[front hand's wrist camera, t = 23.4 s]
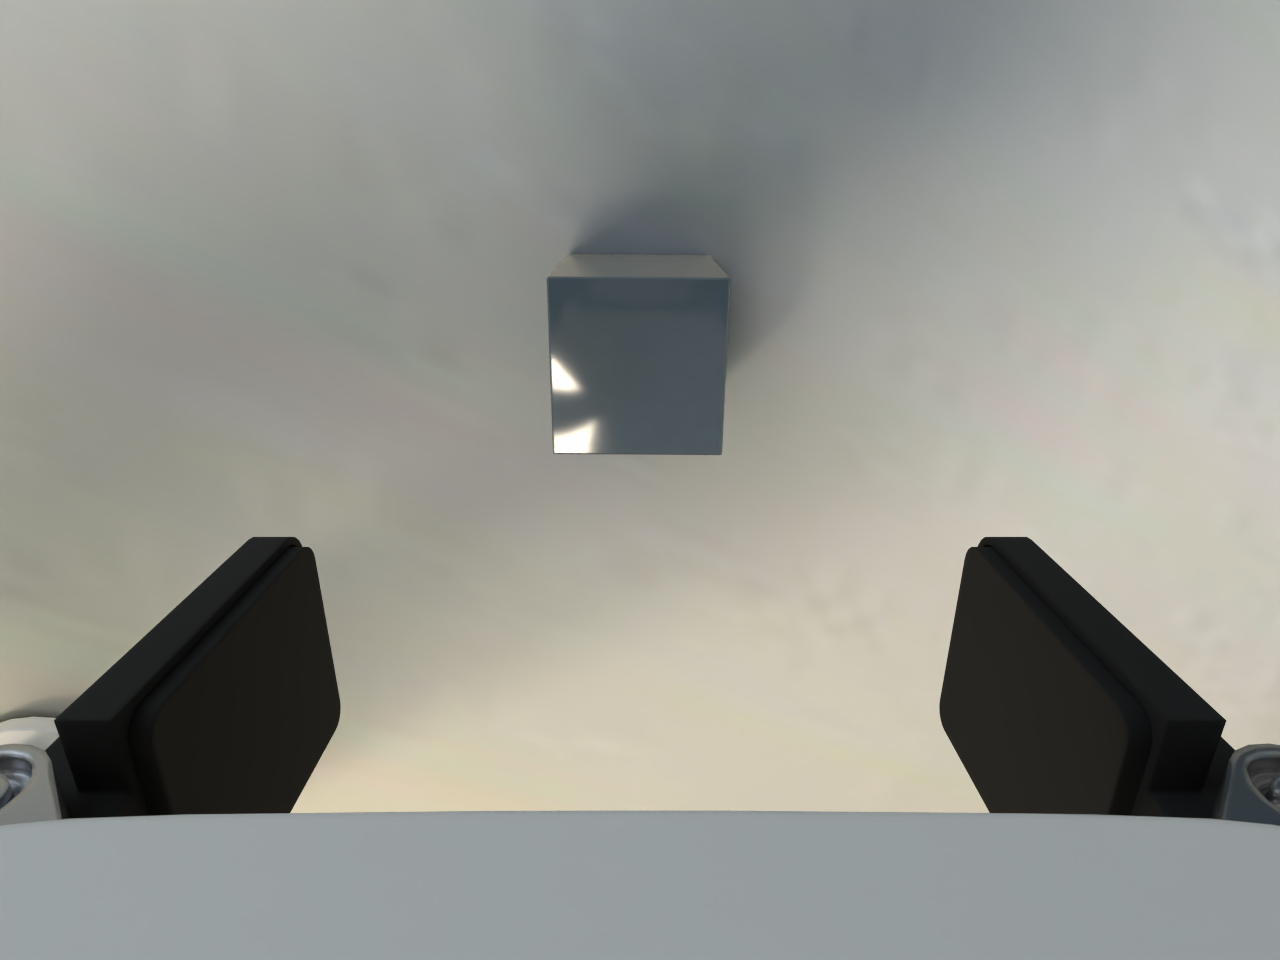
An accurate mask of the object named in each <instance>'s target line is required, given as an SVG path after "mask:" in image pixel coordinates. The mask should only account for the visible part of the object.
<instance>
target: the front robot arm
mask: <svg viewBox="0 0 1280 960" xmlns="http://www.w3.org/2000/svg"><path fill="white" fill-rule="evenodd" d="M339 717H340V698H339V692H338V687H337V681H336V675H335V669H334V664H333V658H332V652H331V647H330V641H329V635H328V630H327V624H326V618H325V612H324V607H323V601H322V595H321V590H320V584H319V578H318V572H317V567H316V561H315V557H314V553H313V551H312V549H310V548H309V547H302V545H301V543H300V541H299V540H298V539H297V538H295V537H253V538H251V539H249V540H248V541H247V542H246V543H245V544H244V545H242V546H241V547H240V548H239V549H238V550H237V551H236V552H235V553H234V554H233V555H232V556H231V557H230V558H228V559H227V560H226V561H225V562H224V563H223V564H222V565H221V566H220V567H219V568H218V569H217V570H216V571H214V572H213V573H212V574H211V575H210V576H209V577H208V578H207V579H206V580H205V581H204V582H203V583H202V584H200V585H199V586H198V587H197V588H196V589H195V590H194V591H193V592H192V593H191V594H190V595H189V596H188V597H186V598H185V599H184V600H183V601H182V602H181V603H180V604H179V605H178V606H177V607H176V608H175V609H174V610H172V611H171V612H170V613H169V614H168V615H167V616H166V617H165V618H164V619H163V620H162V621H161V622H160V623H158V624H157V625H156V626H155V627H154V628H153V629H152V630H151V631H150V632H149V633H148V634H147V635H146V636H144V637H143V638H142V639H141V640H140V641H139V642H138V643H137V644H136V645H135V646H134V647H133V648H132V649H130V650H129V651H128V652H127V653H126V654H125V655H124V656H123V657H122V658H121V659H120V660H119V661H117V662H116V663H115V664H114V665H113V666H112V667H111V668H110V669H109V670H108V671H107V672H106V673H105V674H103V675H102V676H101V677H100V678H99V679H98V680H97V681H96V682H95V683H94V684H93V685H92V686H91V687H89V688H88V689H87V690H86V691H85V692H84V693H83V694H82V695H81V696H80V697H79V698H78V699H77V700H75V701H74V702H73V703H72V704H71V705H70V706H69V707H68V708H67V709H66V710H65V711H64V712H63V713H61V714H60V715H59V716H58V717H57V718H49V717H26V718H17V719H10V720H7V721H3V722H0V960H1280V745H1275V744H1254V745H1247V746H1245V747H1242V748H1240V749H1238V750H1234V749H1233V748H1232V747H1231V746H1230V745H1229V744H1228V743H1227V742H1226V741H1225V740H1224V739H1223V738H1222V737H1221V734H1222V731H1223V728H1224V726H1225V723H1226V720H1225V719H1224V718H1223V717H1222V716H1221V715H1220V714H1219V713H1217V712H1216V711H1215V710H1214V709H1213V708H1212V707H1211V706H1210V705H1209V704H1208V703H1207V702H1206V701H1205V700H1203V699H1202V698H1201V697H1200V696H1199V695H1198V694H1197V693H1196V692H1195V691H1194V690H1193V689H1192V688H1191V687H1189V686H1188V685H1187V684H1186V683H1185V682H1184V681H1183V680H1182V679H1181V678H1180V677H1179V676H1178V675H1177V674H1175V673H1174V672H1173V671H1172V670H1171V669H1170V668H1169V667H1168V666H1167V665H1166V664H1165V663H1164V662H1163V661H1161V660H1160V659H1159V658H1158V657H1157V656H1156V655H1155V654H1154V653H1153V652H1152V651H1151V650H1150V649H1148V648H1147V647H1146V646H1145V645H1144V644H1143V643H1142V642H1141V641H1140V640H1139V639H1138V638H1137V637H1136V636H1134V635H1133V634H1132V633H1131V632H1130V631H1129V630H1128V629H1127V628H1126V627H1125V626H1124V625H1123V624H1122V623H1120V622H1119V621H1118V620H1117V619H1116V618H1115V617H1114V616H1113V615H1112V614H1111V613H1110V612H1109V611H1108V610H1106V609H1105V608H1104V607H1103V606H1102V605H1101V604H1100V603H1099V602H1098V601H1097V600H1096V599H1095V598H1094V597H1092V596H1091V595H1090V594H1089V593H1088V592H1087V591H1086V590H1085V589H1084V588H1083V587H1082V586H1081V585H1080V584H1078V583H1077V582H1076V581H1075V580H1074V579H1073V578H1072V577H1071V576H1070V575H1069V574H1068V573H1067V572H1066V571H1064V570H1063V569H1062V568H1061V567H1060V566H1059V565H1058V564H1057V563H1056V562H1055V561H1054V560H1053V559H1052V558H1050V557H1049V556H1048V555H1047V554H1046V553H1045V552H1044V551H1043V550H1042V549H1041V548H1040V547H1039V546H1038V545H1036V544H1035V543H1034V542H1033V541H1032V540H1031V539H1029V538H1027V537H985V538H983V539H982V540H981V541H980V543H979V545H978V547H971V548H970V549H968V551H967V553H966V557H965V561H964V567H963V572H962V578H961V584H960V590H959V595H958V601H957V607H956V612H955V618H954V624H953V630H952V635H951V641H950V647H949V652H948V658H947V664H946V669H945V675H944V681H943V687H942V692H941V698H940V717H941V722H942V726H943V728H944V730H945V732H946V734H947V736H948V737H949V739H950V741H951V743H952V745H953V747H954V748H955V750H956V752H957V754H958V756H959V757H960V759H961V761H962V763H963V765H964V767H965V768H966V770H967V772H968V774H969V776H970V777H971V779H972V781H973V783H974V785H975V787H976V788H977V790H978V792H979V794H980V796H981V797H982V799H983V801H984V803H985V805H986V807H987V808H988V810H989V812H990V813H915V812H804V811H451V812H363V813H290V812H291V810H292V808H293V807H294V805H295V803H296V801H297V799H298V797H299V796H300V794H301V792H302V790H303V788H304V787H305V785H306V783H307V781H308V779H309V777H310V776H311V774H312V772H313V770H314V768H315V767H316V765H317V763H318V761H319V759H320V757H321V756H322V754H323V752H324V750H325V748H326V747H327V745H328V743H329V741H330V739H331V737H332V736H333V734H334V732H335V730H336V728H337V726H338V722H339Z"/></svg>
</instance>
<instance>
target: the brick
mask: <svg viewBox="0 0 1280 960" xmlns="http://www.w3.org/2000/svg"><path fill="white" fill-rule="evenodd" d="M729 299H730V278H729V277H728V276H727V274H726V273H725V272H724V271H723V270H722V269H721V268H720V266H719V265H718V264H717V263H716V262H715V261H714V260H713V259H712V257H711V256H710V255H626V254H568V255H567V256H566V257H565V258H564V260H563V261H562V262H561V263H560V264H559V265H558V266H557V267H556V268H555V269H554V270H553V271H552V272H551V273H550V275H549V276H548V277H547V301H548V328H549V354H550V381H551V408H552V435H553V453H554V454H647V455H721V454H722V443H723V422H724V402H725V381H726V361H727V340H728V320H729Z"/></svg>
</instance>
